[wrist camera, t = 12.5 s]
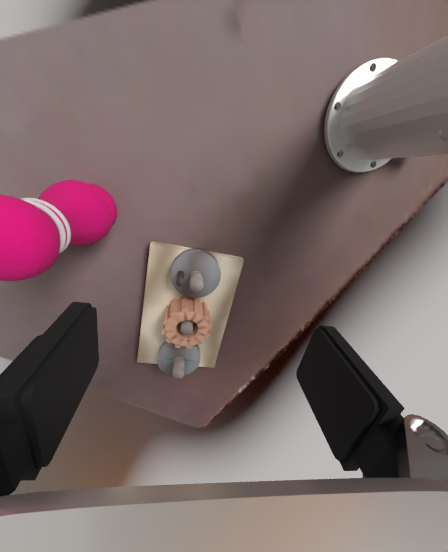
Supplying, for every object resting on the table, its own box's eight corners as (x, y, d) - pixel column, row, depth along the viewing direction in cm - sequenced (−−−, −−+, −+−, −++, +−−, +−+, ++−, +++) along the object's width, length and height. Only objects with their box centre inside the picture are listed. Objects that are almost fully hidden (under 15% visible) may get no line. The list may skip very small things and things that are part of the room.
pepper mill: (125, 233, 33) (49, 309, 15) (71, 236, 32) (-82, 319, 14) (115, 178, 30) (2, 187, 12) (54, 179, 29) (-170, 191, 11)
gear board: (243, 253, 36) (253, 269, 31) (212, 363, 45) (216, 392, 39) (152, 236, 33) (144, 250, 27) (138, 358, 42) (130, 389, 36)
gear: (213, 298, 37) (215, 311, 34) (204, 334, 40) (206, 350, 36) (167, 292, 36) (165, 305, 32) (161, 330, 38) (159, 346, 35)
